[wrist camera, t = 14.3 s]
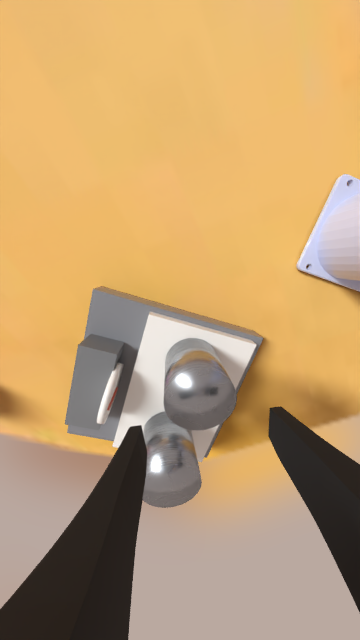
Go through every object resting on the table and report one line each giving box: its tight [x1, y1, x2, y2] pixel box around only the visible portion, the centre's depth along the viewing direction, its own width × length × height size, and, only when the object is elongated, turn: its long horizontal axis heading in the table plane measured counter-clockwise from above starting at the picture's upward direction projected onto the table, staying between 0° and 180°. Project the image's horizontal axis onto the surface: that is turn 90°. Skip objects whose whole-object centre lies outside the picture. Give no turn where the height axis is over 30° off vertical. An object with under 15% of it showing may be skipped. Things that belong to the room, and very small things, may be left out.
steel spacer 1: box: [164, 338, 237, 430], centre depth 14 cm, size 5×5×5 cm
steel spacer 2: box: [142, 411, 202, 508], centre depth 16 cm, size 5×5×5 cm
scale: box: [65, 286, 263, 462], centre depth 17 cm, size 16×16×6 cm
